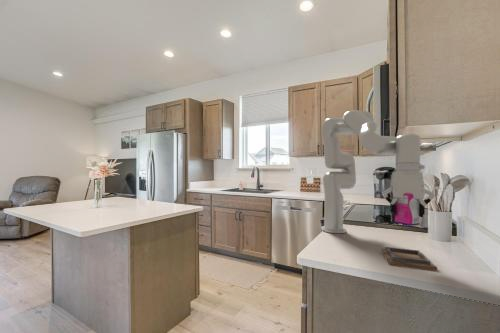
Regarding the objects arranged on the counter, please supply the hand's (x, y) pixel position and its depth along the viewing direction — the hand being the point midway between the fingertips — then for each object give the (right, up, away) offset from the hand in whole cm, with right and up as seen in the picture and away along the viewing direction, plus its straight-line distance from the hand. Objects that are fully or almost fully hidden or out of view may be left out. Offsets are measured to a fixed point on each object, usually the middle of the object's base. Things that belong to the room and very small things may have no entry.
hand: (406, 215), depth 88 cm
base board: (0, -16, 0) cm, 16 cm away
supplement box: (0, -3, 0) cm, 3 cm away
